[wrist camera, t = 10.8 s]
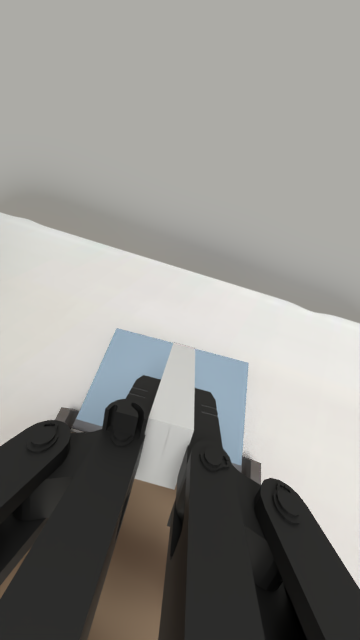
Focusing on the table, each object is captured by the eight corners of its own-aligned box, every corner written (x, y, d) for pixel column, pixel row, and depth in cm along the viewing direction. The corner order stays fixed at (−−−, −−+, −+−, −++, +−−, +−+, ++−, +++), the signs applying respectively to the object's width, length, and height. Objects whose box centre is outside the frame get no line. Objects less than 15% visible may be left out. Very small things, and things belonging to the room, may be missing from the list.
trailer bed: (264, 752, 12) (313, 906, 8) (-69, 643, 13) (-166, 738, 9) (264, 462, 20) (289, 472, 16) (58, 405, 21) (35, 401, 17)
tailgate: (241, 477, 18) (248, 362, 24) (71, 429, 19) (116, 327, 24) (236, 473, 19) (244, 365, 25) (76, 427, 20) (118, 331, 25)
